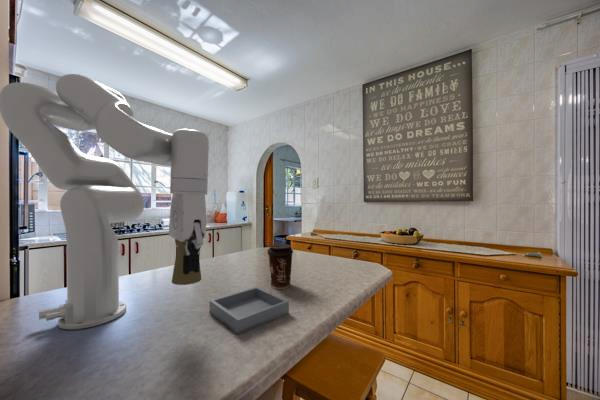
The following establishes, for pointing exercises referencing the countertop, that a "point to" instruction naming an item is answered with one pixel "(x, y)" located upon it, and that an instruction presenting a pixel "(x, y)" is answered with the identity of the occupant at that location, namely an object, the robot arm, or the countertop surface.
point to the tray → (248, 309)
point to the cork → (178, 267)
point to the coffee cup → (280, 265)
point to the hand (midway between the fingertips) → (187, 269)
